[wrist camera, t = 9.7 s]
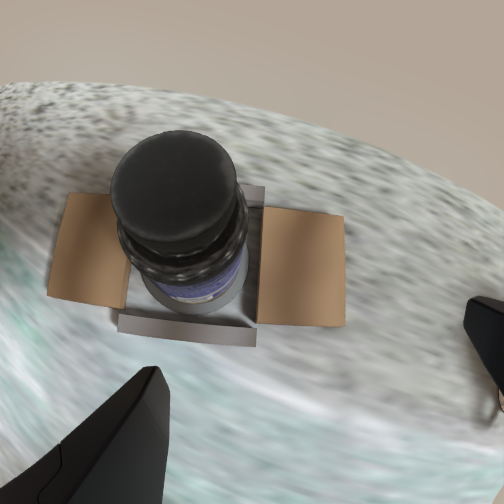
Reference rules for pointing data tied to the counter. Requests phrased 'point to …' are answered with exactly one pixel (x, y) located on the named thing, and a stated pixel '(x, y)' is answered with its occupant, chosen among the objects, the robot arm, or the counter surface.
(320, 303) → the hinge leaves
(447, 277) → the counter surface
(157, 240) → the pill bottle
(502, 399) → the teacup with lid
